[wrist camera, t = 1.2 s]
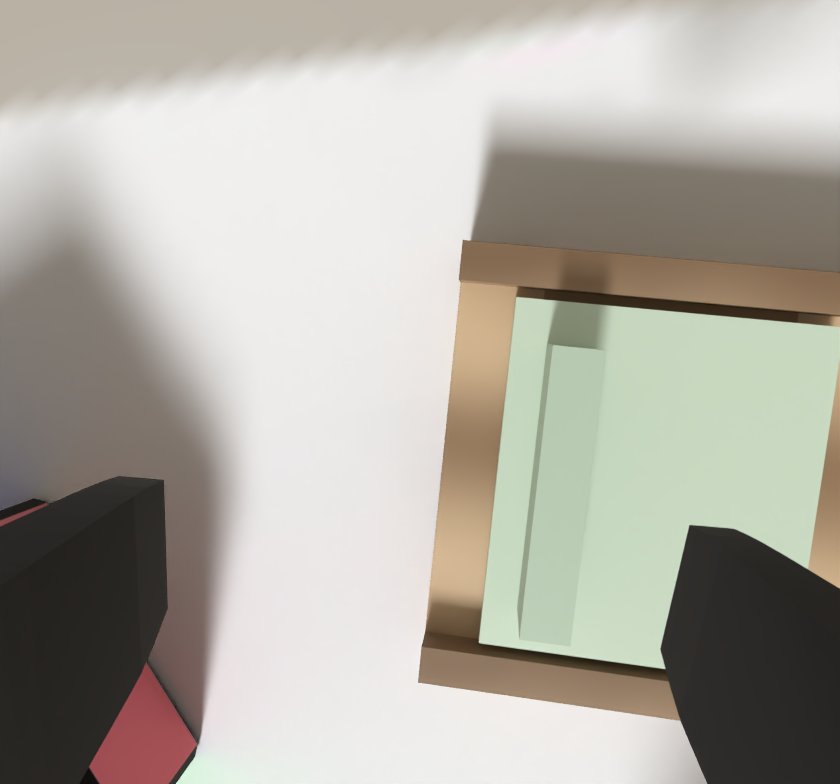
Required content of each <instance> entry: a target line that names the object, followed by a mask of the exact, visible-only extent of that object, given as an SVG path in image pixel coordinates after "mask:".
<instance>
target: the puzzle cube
mask: <svg viewBox="0 0 840 784" xmlns="http://www.w3.org/2000/svg"><path fill="white" fill-rule="evenodd" d="M47 505H48V503H47V502H45V501H41V500H37V499H32V500H29V501H26V502H23V503H21V504H18V505H15V506H12V507H10V508H7V509H4V510H1V511H0V526H2V525H4V524H7V523H9V522H11V521H13V520H16V519H18V518H20V517H22V516H25V515H27V514H29V513H31V512H33V511H36V510H38V509H40V508H42V507H45V506H47ZM196 749H197V743H196V741H195V739H194V738H193V736H192V734H191V733H190V731H189V730H188V728H187V726H186V725H185V723H184V722H183V720H182V718H181V717H180V715H179V714H178V712H177V710H176V709H175V707H174V706H173V704H172V702H171V701H170V699H169V698H168V696H167V694H166V693H165V691H164V689H163V688H162V686H161V685H160V683H159V681H158V680H157V678H156V677H155V675H154V673H153V672H152V670H151V669H150V667H149V665H148V664H147V662H146V664H145V666H144V669H143V671H142V673H141V675H140V677H139V679H138V681H137V683H136V684H135V686H134V688H133V690H132V692H131V694H130V695H129V697H128V699H127V701H126V702H125V704H124V706H123V708H122V710H121V711H120V713H119V715H118V717H117V718H116V720H115V722H114V724H113V726H112V727H111V729H110V731H109V733H108V734H107V736H106V738H105V740H104V741H103V743H102V745H101V747H100V748H99V750H98V752H97V754H96V755H95V757H94V759H93V761H92V762H91V764H90V766H89V768H88V769H87V771H86V773H85V775H84V776H83V778H82V780H81V782H80V783H79V784H176V783H177V781H178V780H179V778H180V777H181V775H182V774H183V773H184V771H185V770H186V768H187V767H188V766H189V764H190V763H191V761H192V760H193V759H194V757H195V754H196Z"/></svg>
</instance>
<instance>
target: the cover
mask: <svg viewBox="0 0 840 784" xmlns="http://www.w3.org/2000/svg"><path fill="white" fill-rule="evenodd" d="M839 361H840V327H834V326H823V325H812V324H802V323H791V322H780V321H769V320H759V319H748V318H737V317H726V316H716V315H705V314H694V313H683V312H673V311H662V310H651V309H640V308H630V307H619V306H608V305H597V304H587V303H576V302H565V301H554V300H544V299H533V298H522V297H516V299H515V308H514V318H513V327H512V336H511V345H510V354H509V364H508V373H507V382H506V391H505V400H504V410H503V419H502V428H501V437H500V446H499V456H498V465H497V474H496V483H495V492H494V502H493V511H492V520H491V529H490V538H489V548H488V557H487V566H486V575H485V584H484V594H483V603H482V612H481V621H480V630H479V643H481V644H489V645H496V646H503V647H510V648H517V649H525V650H532V651H539V652H546V653H553V654H561V655H568V656H575V657H582V658H589V659H596V660H604V661H611V662H618V663H625V664H632V665H640V666H647V667H654V668H661V669H665V665H664V661H663V658H662V654H661V650H660V648H661V643H662V639H663V635H664V631H665V626H666V622H667V618H668V614H669V609H670V605H671V601H672V597H673V592H674V588H675V584H676V580H677V575H678V571H679V567H680V563H681V558H682V554H683V550H684V546H685V541H686V537H687V533H688V529H689V525H697V526H709V527H720V528H732V529H736V530H738V531H740V532H742V533H745V534H747V535H749V536H751V537H753V538H755V539H757V540H759V541H760V542H762V543H764V544H766V545H768V546H769V547H771V548H773V549H775V550H776V551H778V552H780V553H782V554H783V555H785V556H787V557H788V558H790V559H792V560H793V561H795V562H797V563H798V564H800V565H802V566H803V567H805V568H807V569H808V566H809V560H810V553H811V546H812V540H813V533H814V527H815V520H816V513H817V507H818V500H819V493H820V487H821V480H822V474H823V467H824V460H825V454H826V447H827V441H828V434H829V427H830V421H831V414H832V407H833V401H834V394H835V388H836V381H837V374H838V368H839Z"/></svg>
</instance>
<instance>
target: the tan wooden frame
mask: <svg viewBox="0 0 840 784" xmlns="http://www.w3.org/2000/svg"><path fill="white" fill-rule="evenodd" d="M459 280H460V282H461V286H460V296H459V305H458V315H457V325H456V335H455V345H454V355H453V365H452V374H451V384H450V394H449V404H448V414H447V424H446V433H445V443H444V453H443V463H442V473H441V483H440V493H439V502H438V512H437V522H436V532H435V542H434V552H433V562H432V571H431V581H430V591H429V601H428V611H427V621H426V630H425V635H424V640H423V644H422V649H421V659H420V669H419V679H418V682H419V683H426V684H432V685H439V686H446V687H453V688H460V689H467V690H474V691H481V692H487V693H494V694H501V695H508V696H515V697H522V698H529V699H535V700H542V701H549V702H556V703H563V704H570V705H577V706H584V707H590V708H597V709H604V710H611V711H618V712H625V713H632V714H639V715H645V716H652V717H659V718H666V719H673V720H680V718H679V715H678V712H677V708H676V705H675V701H674V698H673V695H672V691H671V688H670V684H669V681H668V677H667V673H666V669H661V668H654V667H647V666H640V665H632V664H625V663H618V662H611V661H604V660H596V659H589V658H582V657H575V656H568V655H561V654H553V653H546V652H539V651H532V650H525V649H517V648H510V647H503V646H496V645H489V644H481V643H479V630H480V621H481V612H482V603H483V594H484V584H485V575H486V566H487V557H488V548H489V538H490V529H491V520H492V511H493V502H494V492H495V483H496V474H497V465H498V456H499V446H500V437H501V428H502V419H503V410H504V400H505V391H506V382H507V373H508V364H509V354H510V345H511V336H512V327H513V318H514V308H515V299H516V297H522V298H533V299H544V300H554V301H565V302H576V303H587V304H597V305H608V306H619V307H630V308H640V309H651V310H662V311H673V312H683V313H694V314H705V315H716V316H726V317H737V318H748V319H759V320H769V321H780V322H791V323H802V324H812V325H823V326H834V327H840V273H838V272H827V271H815V270H804V269H792V268H780V267H769V266H757V265H745V264H734V263H722V262H711V261H699V260H687V259H676V258H664V257H653V256H641V255H629V254H618V253H606V252H595V251H583V250H571V249H560V248H548V247H537V246H525V245H513V244H502V243H490V242H479V241H467V240H463V244H462V254H461V264H460V274H459ZM808 570H810V571H812V572H813V573H815V574H816V575H818V576H820V577H821V578H823V579H825V580H826V581H828V582H830V583H831V584H833V585H835V586H836V587H838V588H840V361H839V368H838V374H837V381H836V388H835V394H834V401H833V407H832V414H831V421H830V427H829V434H828V441H827V447H826V454H825V460H824V467H823V474H822V480H821V487H820V493H819V500H818V507H817V513H816V520H815V527H814V533H813V540H812V546H811V553H810V560H809V566H808ZM680 721H681V720H680Z"/></svg>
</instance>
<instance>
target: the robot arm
mask: <svg viewBox="0 0 840 784" xmlns="http://www.w3.org/2000/svg"><path fill="white" fill-rule="evenodd" d="M167 608H168V605H167V571H166V537H165V503H164V480H157V479H145V478H133V477H122V476H118V477H115V478H112V479H108V480H106V481H103V482H100V483H98V484H95V485H93V486H90V487H88V488H85V489H83V490H81V491H78V492H76V493H74V494H71V495H69V496H67V497H65V498H62V499H60V500H58V501H56V502H54V503H51V504H49V505H47V506H45V507H42V508H40V509H38V510H36V511H33V512H31V513H29V514H27V515H25V516H22V517H20V518H18V519H16V520H13V521H11V522H9V523H7V524H4V525H2V526H0V784H79V783H80V782H81V780H82V778H83V776H84V775H85V773H86V771H87V769H88V768H89V766H90V764H91V762H92V761H93V759H94V757H95V755H96V754H97V752H98V750H99V748H100V747H101V745H102V743H103V741H104V740H105V738H106V736H107V734H108V733H109V731H110V729H111V727H112V726H113V724H114V722H115V720H116V718H117V717H118V715H119V713H120V711H121V710H122V708H123V706H124V704H125V702H126V701H127V699H128V697H129V695H130V694H131V692H132V690H133V688H134V686H135V684H136V683H137V681H138V679H139V677H140V675H141V673H142V671H143V669H144V666H145V664H146V662H147V659H148V657H149V654H150V652H151V650H152V647H153V645H154V642H155V640H156V637H157V634H158V632H159V629H160V627H161V624H162V621H163V619H164V616H165V614H166V611H167ZM660 650H661V654H662V658H663V661H664V665H665V669H666V673H667V677H668V681H669V684H670V688H671V691H672V695H673V698H674V701H675V705H676V708H677V712H678V715H679V718H680V720H681V723H682V725H683V728H684V730H685V732H686V735H687V737H688V739H689V742H690V744H691V747H692V749H693V751H694V754H695V756H696V758H697V761H698V763H699V765H700V768H701V770H702V772H703V775H704V777H705V779H706V781H707V784H840V588H838V587H836V586H835V585H833V584H831V583H830V582H828V581H826V580H825V579H823V578H821V577H820V576H818V575H816V574H815V573H813V572H812V571H810V570H808V569H807V568H805V567H803V566H802V565H800V564H798V563H797V562H795V561H793V560H792V559H790V558H788V557H787V556H785V555H783V554H782V553H780V552H778V551H776V550H775V549H773V548H771V547H769V546H768V545H766V544H764V543H762V542H760V541H759V540H757V539H755V538H753V537H751V536H749V535H747V534H745V533H742V532H740V531H738V530H736V529H732V528H720V527H709V526H697V525H689V529H688V533H687V537H686V541H685V546H684V550H683V554H682V558H681V563H680V567H679V571H678V575H677V580H676V584H675V588H674V592H673V597H672V601H671V605H670V609H669V614H668V618H667V622H666V626H665V631H664V635H663V639H662V643H661V648H660Z"/></svg>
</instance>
